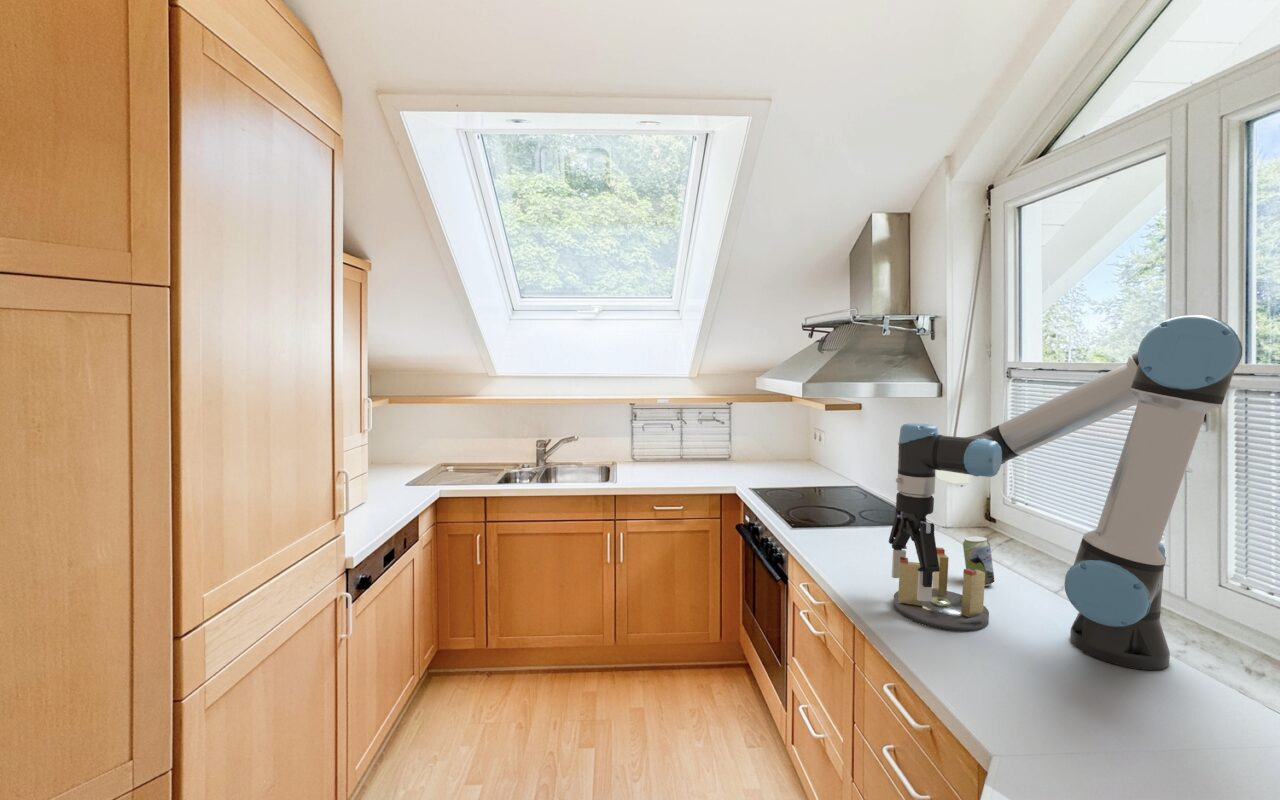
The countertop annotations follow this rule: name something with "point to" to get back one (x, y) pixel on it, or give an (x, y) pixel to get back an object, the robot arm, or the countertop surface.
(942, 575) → the knob
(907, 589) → the knob
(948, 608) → the tribrach plate
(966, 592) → the knob
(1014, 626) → the countertop surface
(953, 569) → the countertop surface
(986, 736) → the countertop surface
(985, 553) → the beverage can
